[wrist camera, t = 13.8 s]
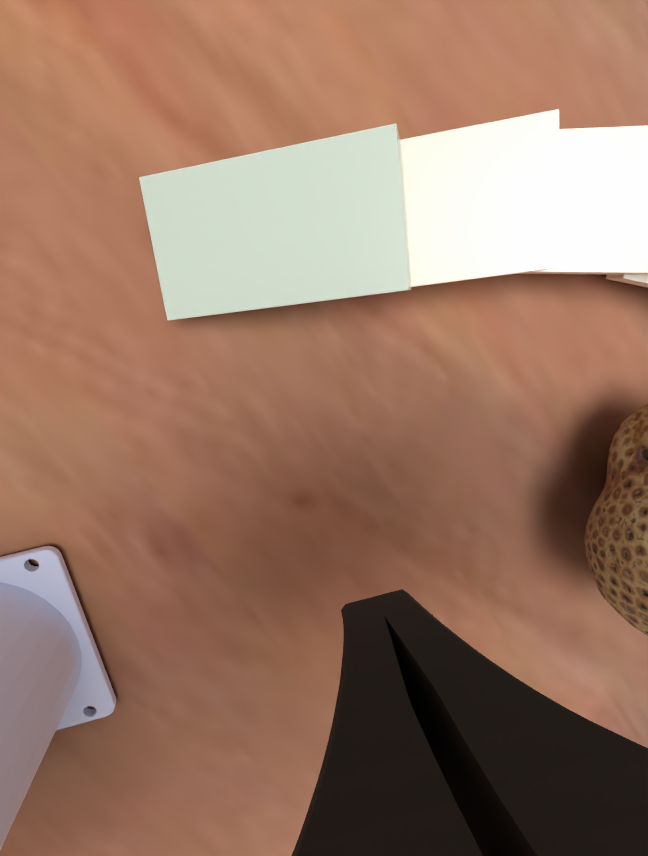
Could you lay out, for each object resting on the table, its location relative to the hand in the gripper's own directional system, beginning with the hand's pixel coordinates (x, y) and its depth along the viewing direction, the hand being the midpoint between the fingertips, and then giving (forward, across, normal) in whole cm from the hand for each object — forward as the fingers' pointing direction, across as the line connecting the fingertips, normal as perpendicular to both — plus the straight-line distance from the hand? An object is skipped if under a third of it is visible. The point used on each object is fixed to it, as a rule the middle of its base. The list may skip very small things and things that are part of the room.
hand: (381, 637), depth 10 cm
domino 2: (+10, -1, -9) cm, 13 cm away
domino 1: (+10, +4, -9) cm, 14 cm away
